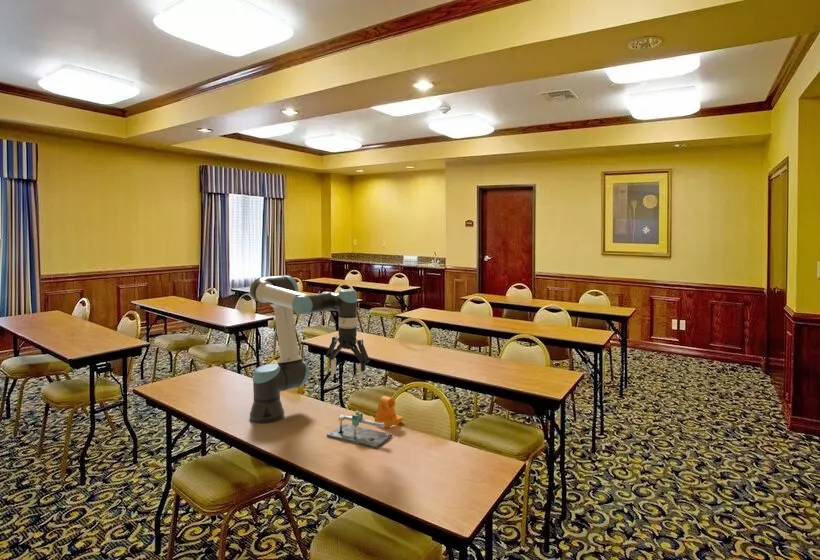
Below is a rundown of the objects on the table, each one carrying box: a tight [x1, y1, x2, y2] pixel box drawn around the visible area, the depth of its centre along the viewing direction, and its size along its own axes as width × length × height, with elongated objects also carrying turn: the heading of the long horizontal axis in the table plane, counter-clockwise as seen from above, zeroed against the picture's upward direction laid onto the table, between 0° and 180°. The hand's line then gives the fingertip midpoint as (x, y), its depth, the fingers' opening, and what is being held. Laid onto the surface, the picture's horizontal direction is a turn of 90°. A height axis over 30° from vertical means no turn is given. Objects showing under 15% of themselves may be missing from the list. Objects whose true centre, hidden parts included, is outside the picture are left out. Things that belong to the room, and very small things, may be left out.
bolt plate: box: [326, 423, 393, 450], centre depth 199 cm, size 24×13×1 cm, turn 63°
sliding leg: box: [351, 410, 364, 435], centre depth 198 cm, size 2×4×9 cm, turn 153°
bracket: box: [374, 395, 403, 428], centre depth 213 cm, size 11×7×12 cm, turn 135°
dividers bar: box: [338, 414, 385, 433], centre depth 197 cm, size 21×3×7 cm, turn 63°
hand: (347, 376), depth 201 cm, fingers open, 13 cm apart
